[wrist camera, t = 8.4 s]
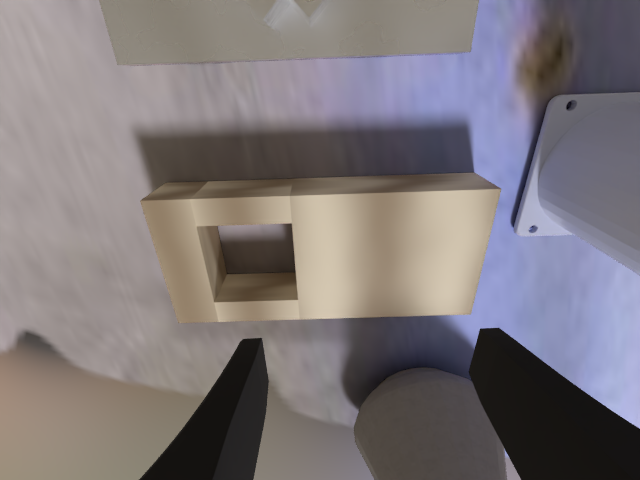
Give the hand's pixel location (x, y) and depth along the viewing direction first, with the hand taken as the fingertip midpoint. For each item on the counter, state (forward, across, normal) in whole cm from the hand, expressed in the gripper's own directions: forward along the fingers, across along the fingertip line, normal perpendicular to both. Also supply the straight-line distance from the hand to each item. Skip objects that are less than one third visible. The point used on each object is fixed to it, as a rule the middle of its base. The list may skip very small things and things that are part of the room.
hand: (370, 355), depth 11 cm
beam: (+10, +1, +1) cm, 11 cm away
